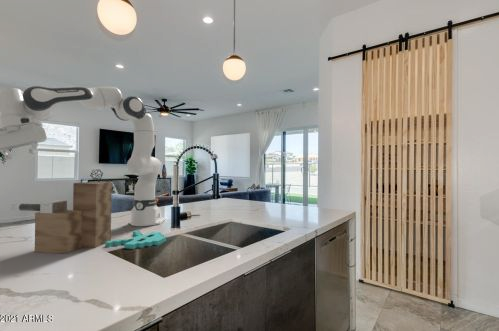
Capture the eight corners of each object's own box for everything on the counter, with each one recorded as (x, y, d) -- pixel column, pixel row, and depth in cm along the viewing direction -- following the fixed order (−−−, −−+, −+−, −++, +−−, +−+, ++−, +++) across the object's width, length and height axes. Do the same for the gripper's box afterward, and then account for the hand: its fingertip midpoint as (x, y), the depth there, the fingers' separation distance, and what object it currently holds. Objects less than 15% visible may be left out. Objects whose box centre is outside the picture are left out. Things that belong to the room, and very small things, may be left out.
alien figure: (105, 247, 107) (148, 251, 103) (105, 242, 108) (149, 245, 104) (135, 235, 127) (173, 237, 123) (135, 230, 127) (173, 233, 123)
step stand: (71, 239, 117) (71, 181, 117) (110, 240, 116) (111, 182, 116) (34, 252, 99) (35, 184, 100) (80, 254, 98) (81, 185, 98)
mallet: (30, 209, 107) (30, 199, 107) (66, 210, 106) (67, 200, 106) (13, 212, 100) (13, 201, 100) (52, 213, 99) (52, 202, 99)
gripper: (-18, 128, 105) (-14, 161, 103) (35, 117, 108) (41, 148, 106) (-5, 133, 112) (0, 163, 110) (46, 122, 114) (51, 151, 112)
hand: (20, 156), depth 108 cm, fingers open, 8 cm apart
